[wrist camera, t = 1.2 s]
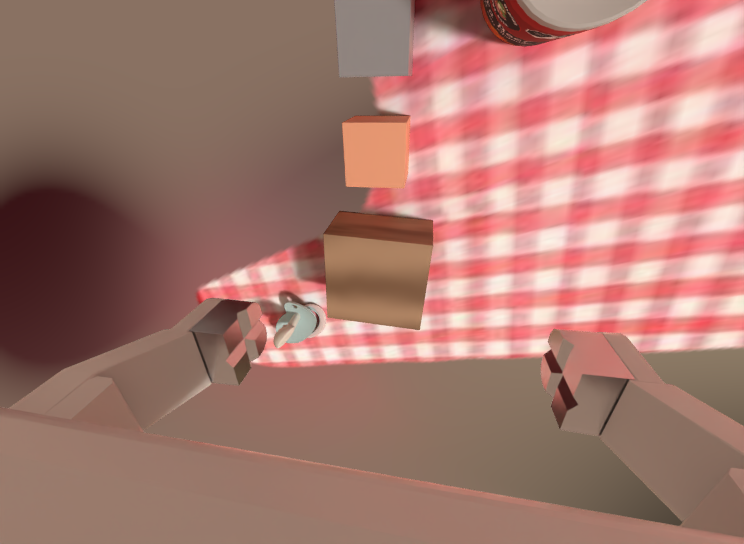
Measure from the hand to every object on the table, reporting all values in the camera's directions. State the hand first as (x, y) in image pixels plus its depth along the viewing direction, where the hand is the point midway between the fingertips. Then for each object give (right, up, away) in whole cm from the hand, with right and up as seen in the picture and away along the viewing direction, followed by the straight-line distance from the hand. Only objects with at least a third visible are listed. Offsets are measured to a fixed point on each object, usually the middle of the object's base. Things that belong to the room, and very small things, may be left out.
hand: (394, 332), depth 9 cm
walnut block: (+1, +4, +27) cm, 27 cm away
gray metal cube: (0, +20, +16) cm, 26 cm away
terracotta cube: (0, +14, +21) cm, 25 cm away
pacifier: (-10, -4, +34) cm, 36 cm away
